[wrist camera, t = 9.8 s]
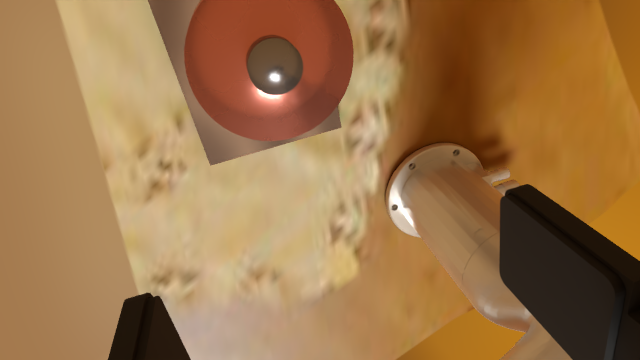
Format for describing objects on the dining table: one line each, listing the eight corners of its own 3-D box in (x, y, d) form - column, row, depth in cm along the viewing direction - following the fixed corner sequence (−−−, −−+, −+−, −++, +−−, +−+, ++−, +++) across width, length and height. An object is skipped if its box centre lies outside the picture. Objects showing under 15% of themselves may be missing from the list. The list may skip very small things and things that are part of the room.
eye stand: (294, -92, 37) (315, -105, 30) (337, 122, 47) (362, 153, 39) (130, -54, 36) (109, -57, 28) (210, 159, 45) (210, 198, 38)
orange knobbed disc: (280, -47, 27) (344, -52, 14) (303, 55, 30) (373, 124, 17) (179, -22, 26) (152, -4, 14) (213, 79, 29) (217, 170, 17)
